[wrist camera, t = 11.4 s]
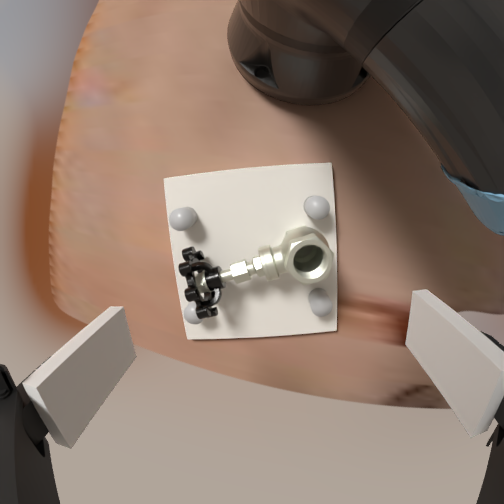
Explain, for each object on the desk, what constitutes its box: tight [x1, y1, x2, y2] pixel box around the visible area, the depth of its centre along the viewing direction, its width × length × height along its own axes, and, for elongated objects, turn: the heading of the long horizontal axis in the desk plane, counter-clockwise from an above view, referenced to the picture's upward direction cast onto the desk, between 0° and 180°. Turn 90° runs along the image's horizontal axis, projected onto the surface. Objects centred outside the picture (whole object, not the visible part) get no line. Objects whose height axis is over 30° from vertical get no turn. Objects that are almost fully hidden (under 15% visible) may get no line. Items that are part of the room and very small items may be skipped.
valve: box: [178, 225, 334, 319], centre depth 25 cm, size 7×7×12 cm
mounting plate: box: [164, 163, 337, 339], centre depth 27 cm, size 17×16×4 cm
